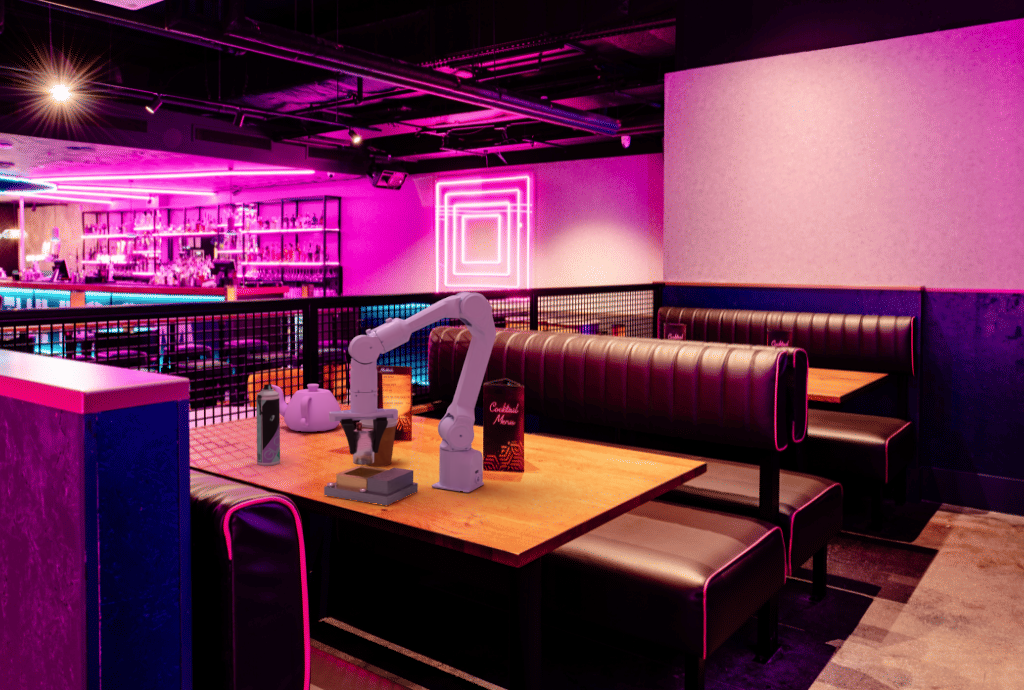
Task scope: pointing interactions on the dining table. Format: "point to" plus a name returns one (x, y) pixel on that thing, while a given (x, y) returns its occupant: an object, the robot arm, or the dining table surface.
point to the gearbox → (372, 485)
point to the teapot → (308, 409)
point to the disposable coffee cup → (383, 442)
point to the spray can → (268, 426)
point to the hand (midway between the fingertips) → (363, 452)
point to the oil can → (363, 445)
